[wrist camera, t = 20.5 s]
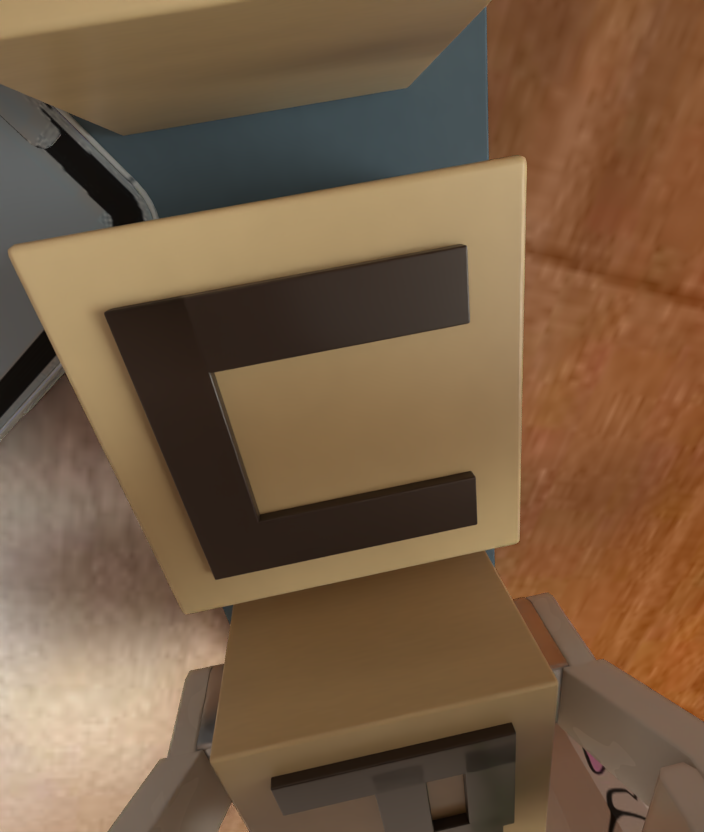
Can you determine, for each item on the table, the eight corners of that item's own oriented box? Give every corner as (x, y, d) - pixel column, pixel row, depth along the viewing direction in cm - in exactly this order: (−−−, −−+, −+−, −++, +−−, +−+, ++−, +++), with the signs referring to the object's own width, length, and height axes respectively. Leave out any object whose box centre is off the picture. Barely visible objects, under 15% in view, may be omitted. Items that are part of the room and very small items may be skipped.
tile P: (242, 538, 10) (205, 775, 6) (454, 493, 10) (566, 693, 6) (290, 673, 12) (288, 914, 8) (463, 634, 12) (550, 851, 8)
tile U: (147, 227, 8) (-12, 247, 4) (413, 179, 8) (538, 149, 4) (225, 456, 10) (179, 627, 6) (432, 414, 10) (526, 552, 6)
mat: (-202, -443, 5) (-259, -518, 5) (461, -515, 5) (480, -597, 5) (249, 650, 14) (247, 668, 13) (488, 597, 14) (496, 613, 14)
